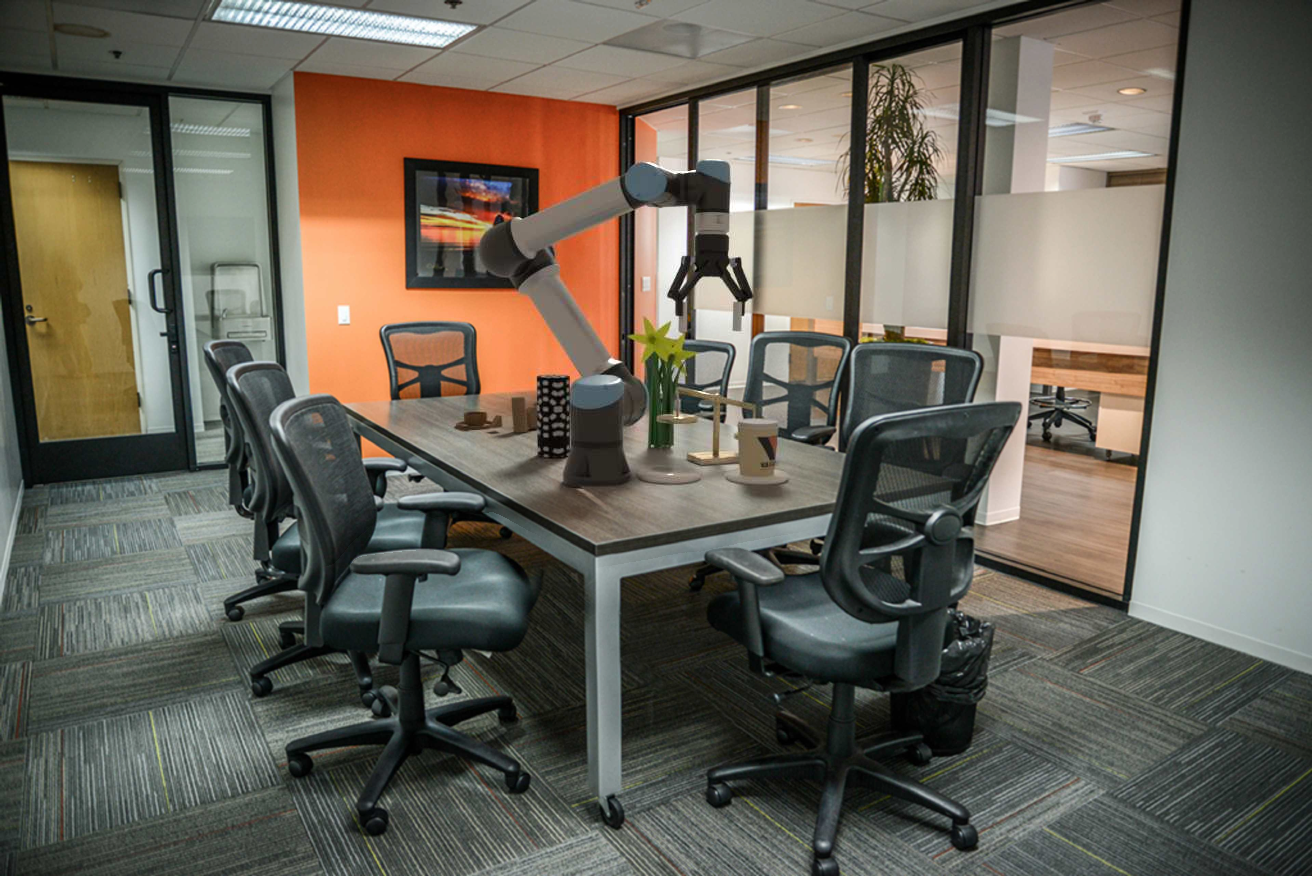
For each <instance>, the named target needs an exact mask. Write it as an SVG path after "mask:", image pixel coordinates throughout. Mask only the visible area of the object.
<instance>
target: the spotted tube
mask: <svg viewBox="0 0 1312 876" xmlns="http://www.w3.org/2000/svg"><path fill="white" fill-rule="evenodd" d="M570 392H571V376H570V375H566V374H540V375H537V376H536V403H537V427H536V428H537V429H536V430H537V433H536V434H537V437H536V439H537V441H536V443H537V446H536V447H537V456H539V457H542V458H564V457H568V455H569V452H570V448H571V429H570V397H569V396H570Z"/></svg>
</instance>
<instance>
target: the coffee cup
mask: <svg viewBox="0 0 1312 876" xmlns="http://www.w3.org/2000/svg"><path fill="white" fill-rule="evenodd" d="M736 426H737V432H738V440H737V442H738V443H737V445H738V454H739V462H738V463H739V464H738V465H739V467H738V468H739V469H740V474H741V475H744V476H750V477H768V476H772V475H773V474H774V469H775V466H776V458H777V457H776V456H777V447H778V437H779V428H780V424H779V421H778V420H776V419H772V418H771V419H770V418H756V417H755V418H753V417H752V418H743V419H742V418H741V419H739V420H738V422H737V423H736ZM775 470H776V469H775Z"/></svg>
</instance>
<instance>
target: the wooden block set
mask: <svg viewBox="0 0 1312 876" xmlns="http://www.w3.org/2000/svg"><path fill="white" fill-rule="evenodd" d="M526 405H527V404H526V397H525V396H513V397H511V410H512V411H511V414H512V425H513V426H512V428H513V433H515V434H520V433H522V434H524V433H527V432H528V429H535V428H537V402H534V403H533V406H527V407H526ZM502 417H503V416H502V415H499V414H498V415H495V416H494V418H493V419H492V423H491V424H489V425H490V426H489V427H488V429H498V428H503V418H502Z"/></svg>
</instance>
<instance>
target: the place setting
mask: <svg viewBox="0 0 1312 876" xmlns="http://www.w3.org/2000/svg"><path fill="white" fill-rule="evenodd" d="M463 419H464V421H458V422H456V423H455V427H456V428H457V429H459V431H461V432H469V431H470V430H473V431H474V430H476V431H477V430H486V429H489V428H488V427H489V426H490V424H491V423H492V421H493V420H492V421H491V420H488V412H486V411H467V412H464V413H463Z"/></svg>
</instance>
